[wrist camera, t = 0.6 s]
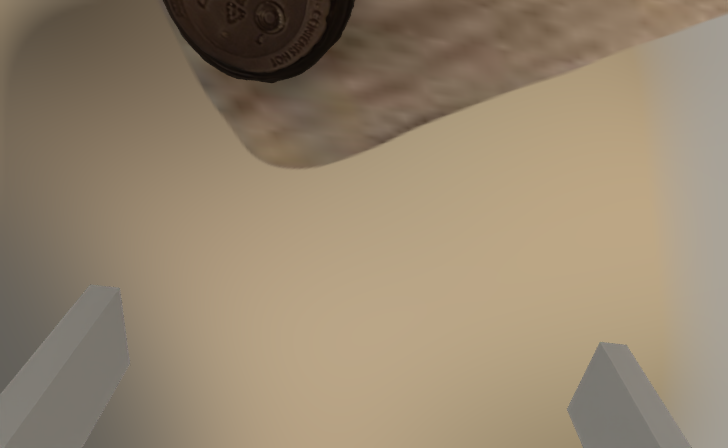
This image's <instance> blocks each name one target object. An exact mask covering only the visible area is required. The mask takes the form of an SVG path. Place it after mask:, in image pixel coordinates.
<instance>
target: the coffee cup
mask: <svg viewBox="0 0 728 448" xmlns="http://www.w3.org/2000/svg"><path fill="white" fill-rule="evenodd" d="M163 1H164V4H165V6H166V8H167V10H168V12H169V14H170V16H171V18H172V20H173V21H174V23H175V24H176V26H177V27H178V29H179V31H180V33H181V35H182V36H183V38H184V39H185V40H186V41H187V42H188V44H189V45H190V46H191V47H192V48H193V49H194V50H195V51H196V52H197V53H198V54H199V55H200V56H201V57H202V59H203V60H205V61H206V62H207V63H209V64H210V65H212V66H214V67H215V68H217V69H218V70H220V71H221V72H223V73H225V74H227V75H229V76H231V77H234V78H236V79H243V80H255V81H261V82H267V83H275V82H277V81H280V80H285V79H288V78H292V77H295V76H297V75H300V74H302V73H303V72H305V71H306V70H308V69H309V68H310V67H312V66H313V65H314V64H315V63H316V62H317V61H318V60H319V59H320V58H321V57H322V56H323V55H324V54H325V53H326V52H327V51H328V50H329V49H330V48H331V47H332V46H333V45H334V44H335V43H336V42H337V41H338V40H339V39H340V37H341V35H342V32H343V30H344V29H345V27H346V24H347V22H348V20H349V18H350V16H351V12H352V9H353V7H354V1H355V0H163Z"/></svg>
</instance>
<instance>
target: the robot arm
mask: <svg viewBox="0 0 728 448" xmlns="http://www.w3.org/2000/svg"><path fill="white" fill-rule="evenodd" d="M129 364H130V360H129V353H128V345H127V338H126V331H125V323H124V315H123V308H122V300H121V294H120V288H116V287H106V286H99V285H89V287H88V288H87V289H86V290H85V291H84V293H83V294H82V295H81V296H80V298H79V299H78V300H77V301H76V302H75V304H74V305H73V306H72V307H71V309H70V310H69V311H68V312H67V313H66V315H65V316H64V317H63V318H62V320H61V321H60V322H59V323H58V324H57V326H56V327H55V328H54V329H53V331H52V332H51V333H50V334H49V335H48V337H47V338H46V339H45V340H44V342H43V343H42V344H41V345H40V347H39V348H38V349H37V350H36V351H35V353H34V354H33V355H32V356H31V357H30V359H29V360H28V361H27V362H26V364H25V365H24V366H23V367H22V369H21V370H20V371H19V372H18V373H17V375H16V376H15V377H14V378H13V379H12V381H11V382H10V383H9V384H8V386H7V387H6V388H5V389H4V390H3V392H2V393H1V394H0V448H82V447H83V445H84V443H85V441H86V440H87V438H88V436H89V434H90V433H91V431H92V429H93V427H94V426H95V424H96V422H97V421H98V419H99V417H100V415H101V413H102V412H103V410H104V408H105V407H106V405H107V403H108V401H109V399H110V398H111V396H112V394H113V392H114V391H115V389H116V387H117V385H118V384H119V382H120V380H121V378H122V377H123V375H124V373H125V371H126V370H127V368H128V366H129ZM567 410H568V413H569V415H570V417H571V420H572V422H573V425H574V427H575V429H576V432H577V434H578V436H579V439H580V441H581V444H582V446H583V448H692V447H691V446H690V444H689V443H688V441H687V439H686V438H685V436H684V435H683V433H682V432H681V430H680V428H679V427H678V425H677V424H676V422H675V421H674V419H673V418H672V416H671V414H670V413H669V411H668V410H667V408H666V406H665V405H664V403H663V402H662V400H661V399H660V397H659V395H658V394H657V392H656V391H655V389H654V387H653V386H652V384H651V383H650V381H649V380H648V378H647V376H646V375H645V373H644V372H643V370H642V369H641V367H640V366H639V364H638V362H637V361H636V359H635V358H634V356H633V354H632V353H631V351H630V350H629V348H628V347H627V345H622V344H613V343H604V342H600V343H599V345H598V347H597V349H596V351H595V353H594V355H593V357H592V360H591V361H590V363H589V365H588V367H587V370H586V372H585V374H584V376H583V378H582V380H581V382H580V384H579V386H578V388H577V390H576V392H575V394H574V396H573V398H572V400H571V402H570V404H569V406H568V408H567Z"/></svg>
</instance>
